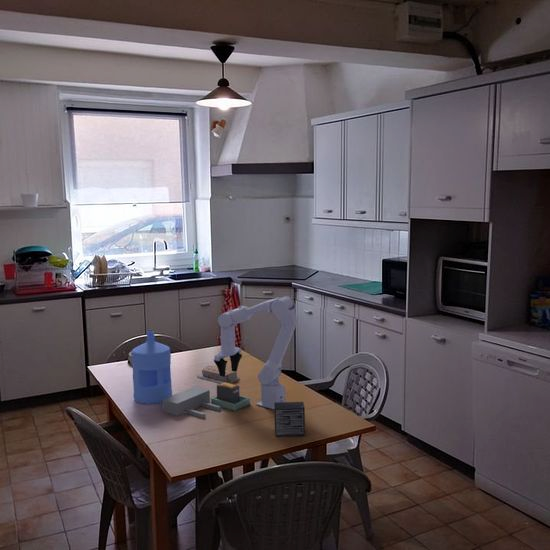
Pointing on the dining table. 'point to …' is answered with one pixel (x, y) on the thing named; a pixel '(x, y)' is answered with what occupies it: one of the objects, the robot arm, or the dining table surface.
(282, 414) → the small box
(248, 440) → the dining table surface
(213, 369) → the packaged product
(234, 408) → the tray
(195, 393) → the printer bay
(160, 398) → the water jug
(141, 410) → the dining table surface
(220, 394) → the grey block orange panel
